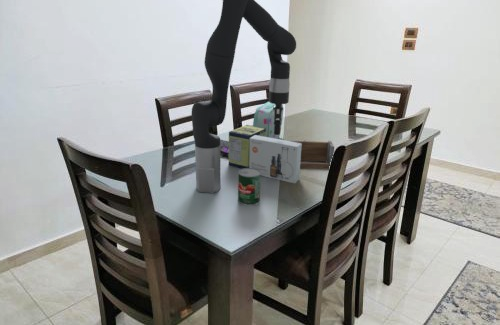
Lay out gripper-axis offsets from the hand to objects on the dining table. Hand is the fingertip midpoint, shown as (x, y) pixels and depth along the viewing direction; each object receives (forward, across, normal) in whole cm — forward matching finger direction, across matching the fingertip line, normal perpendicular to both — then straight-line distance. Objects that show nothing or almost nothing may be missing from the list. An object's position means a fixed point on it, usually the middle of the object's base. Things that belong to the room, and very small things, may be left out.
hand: (277, 131), depth 141 cm
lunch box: (+20, +49, +5) cm, 53 cm away
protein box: (+20, +16, +13) cm, 28 cm away
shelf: (+20, +19, -11) cm, 29 cm away
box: (+20, +30, +27) cm, 45 cm away
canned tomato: (+20, -22, +9) cm, 31 cm away
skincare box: (+20, +1, 0) cm, 20 cm away
